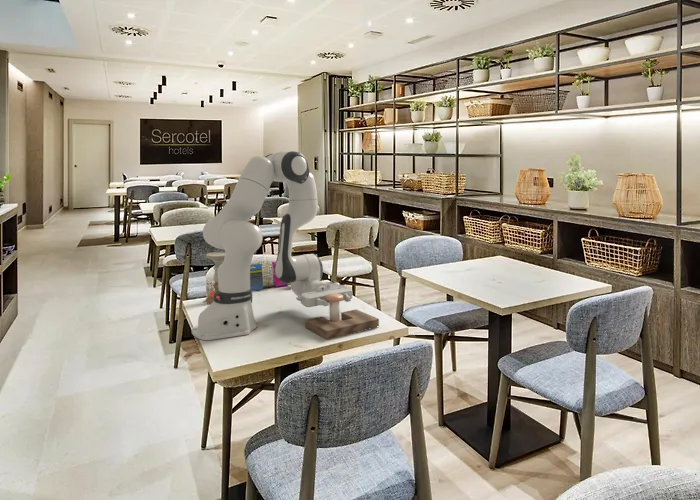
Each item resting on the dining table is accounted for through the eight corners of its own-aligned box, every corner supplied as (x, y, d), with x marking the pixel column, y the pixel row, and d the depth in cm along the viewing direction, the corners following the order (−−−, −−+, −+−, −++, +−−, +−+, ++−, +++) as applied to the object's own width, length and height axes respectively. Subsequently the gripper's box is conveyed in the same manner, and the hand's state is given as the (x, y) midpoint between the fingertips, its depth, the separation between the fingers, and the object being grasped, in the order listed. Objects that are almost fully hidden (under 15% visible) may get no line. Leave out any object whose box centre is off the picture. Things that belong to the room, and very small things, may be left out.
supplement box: (272, 284, 245) (271, 261, 243) (284, 283, 248) (283, 259, 246) (275, 287, 240) (275, 263, 238) (288, 286, 243) (287, 262, 240)
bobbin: (331, 329, 184) (331, 299, 181) (322, 324, 189) (322, 295, 187) (346, 325, 187) (346, 296, 185) (337, 321, 192) (337, 292, 190)
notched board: (326, 339, 174) (326, 331, 173) (305, 328, 185) (305, 320, 185) (378, 326, 186) (378, 318, 185) (356, 316, 197) (356, 309, 197)
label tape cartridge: (260, 287, 240) (259, 261, 238) (263, 289, 237) (262, 263, 234) (241, 290, 236) (240, 263, 233) (244, 292, 232) (243, 265, 230)
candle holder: (228, 305, 213) (226, 257, 209) (200, 304, 215) (197, 256, 211) (240, 297, 224) (238, 251, 221) (214, 296, 227) (211, 250, 223)
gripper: (293, 289, 191) (313, 297, 180) (340, 281, 202) (360, 288, 191) (294, 305, 192) (313, 315, 181) (340, 296, 203) (360, 305, 192)
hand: (338, 301), depth 186 cm, fingers open, 8 cm apart
